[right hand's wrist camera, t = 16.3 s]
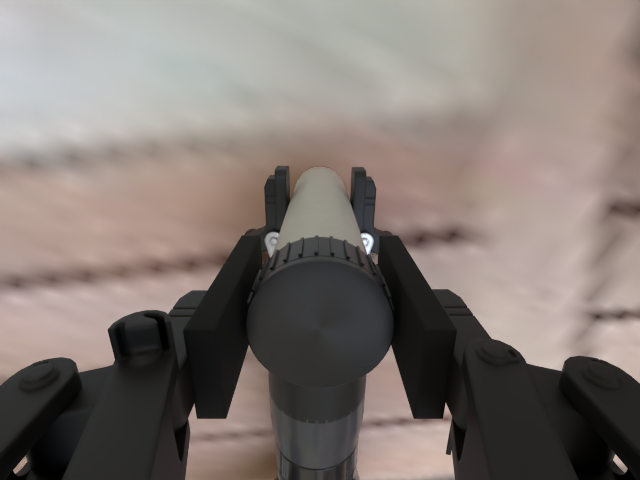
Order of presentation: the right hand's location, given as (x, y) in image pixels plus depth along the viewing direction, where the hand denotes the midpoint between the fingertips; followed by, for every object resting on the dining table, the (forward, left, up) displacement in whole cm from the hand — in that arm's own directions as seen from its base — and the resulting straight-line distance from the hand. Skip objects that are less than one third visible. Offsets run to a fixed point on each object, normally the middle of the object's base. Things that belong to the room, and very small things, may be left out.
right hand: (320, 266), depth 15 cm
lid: (0, 0, +4) cm, 4 cm away
